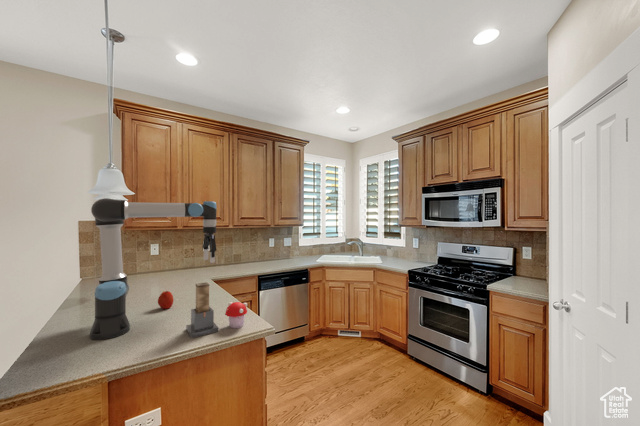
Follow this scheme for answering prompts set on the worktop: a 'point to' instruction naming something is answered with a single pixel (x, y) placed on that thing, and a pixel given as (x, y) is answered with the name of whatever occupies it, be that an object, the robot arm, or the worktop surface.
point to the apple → (165, 300)
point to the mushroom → (236, 314)
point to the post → (202, 297)
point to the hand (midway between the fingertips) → (209, 261)
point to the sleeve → (201, 323)
